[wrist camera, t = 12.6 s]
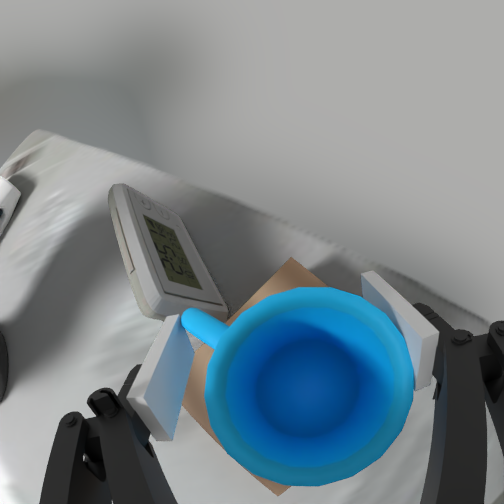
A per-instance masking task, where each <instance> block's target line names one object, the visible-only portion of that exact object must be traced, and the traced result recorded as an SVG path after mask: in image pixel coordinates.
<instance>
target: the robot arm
mask: <svg viewBox="0 0 504 504" xmlns="http://www.w3.org/2000/svg"><path fill="white" fill-rule="evenodd" d="M361 284H362V296H363V298H364V299H365V300H367V301H368V302H370V303H371V304H372V305H374V306H375V307H377V308H378V309H380V310H381V311H383V312H384V313H385V314H386V315H387V316H388V317H389V319H390V320H391V321H392V323H393V324H394V325H395V327H396V328H397V329H398V331H399V332H400V333H401V335H402V336H403V337H404V339H405V342H406V345H407V348H408V351H409V354H410V357H411V361H412V365H413V369H414V391H417V390H420V389H422V388H424V387H426V386H429V385H430V384H431V379H432V375H433V376H434V377H435V378H436V380H437V384H436V388H435V392H434V396H433V399H435V411H434V424H433V434H432V442H431V450H430V457H429V463H428V469H427V474H426V479H425V484H424V489H423V493H422V497H421V502H420V504H484V495H485V485H486V471H487V422H486V408H485V402H486V404H487V407H488V409H489V412H490V415H491V418H492V421H493V423H494V426H495V429H496V432H497V436H498V439H499V442H500V445H501V449H502V452H503V456H504V321H496V322H494V323H492V324H491V326H490V329H489V333H488V334H484V335H479V336H473V334H472V333H470V332H469V331H466V330H460V329H458V330H454V329H453V328H452V327H451V326H450V325H449V324H448V323H447V322H445V321H444V320H443V319H442V318H441V317H439V315H438V314H437V313H434V311H433V310H432V309H431V308H430V307H429V306H427V305H424V304H422V303H417V304H414V305H411V304H410V303H409V302H408V301H407V300H406V299H404V298H403V297H402V296H401V295H400V294H399V293H398V292H397V291H396V290H395V289H394V288H392V287H391V286H390V285H389V284H388V283H387V282H386V281H385V280H384V279H382V278H381V277H380V276H379V275H378V274H377V273H376V272H375V271H373V270H372V271H369V272H365V273H361ZM194 355H195V353H194V351H193V348H192V346H191V343H190V341H189V338H188V336H187V333H186V331H185V328H184V327H183V326H182V325H181V318H180V315H179V314H177V315H172V316H167V317H166V319H165V321H164V323H163V325H162V326H161V328H160V330H159V332H158V334H157V336H156V338H155V340H154V342H153V344H152V346H151V348H150V350H149V352H148V354H147V356H146V358H145V360H144V362H143V364H139V365H136V366H135V367H134V368H133V369H132V370H131V371H130V373H129V375H128V377H127V380H125V382H124V385H123V386H122V388H121V390H120V392H119V394H118V396H117V395H116V394H115V392H114V391H113V390H112V389H110V388H102V389H99V390H97V391H95V392H93V393H92V394H91V395H90V396H89V398H88V400H87V404H88V406H89V407H90V408H91V410H92V411H93V412H94V414H95V415H96V417H92V418H88V419H85V418H84V417H83V416H82V414H81V413H79V412H70V413H68V414H66V415H65V416H64V417H63V418H62V419H61V421H60V422H59V426H58V429H57V432H56V435H55V439H54V442H53V446H52V450H51V453H50V457H49V461H48V465H47V469H46V473H45V478H44V482H43V487H42V492H41V498H40V503H39V504H112V501H113V504H178V503H177V501H176V499H175V497H174V495H173V493H172V491H171V489H170V487H169V485H168V482H167V480H166V478H165V476H164V473H163V471H162V469H161V466H160V464H159V461H158V459H157V456H156V454H155V451H154V449H153V446H152V444H151V443H150V442H149V440H148V439H149V436H150V433H151V434H152V436H153V437H154V438H155V440H156V441H172V440H173V436H174V432H175V428H176V424H177V420H178V416H179V412H180V408H181V404H182V400H183V396H184V392H185V389H186V385H187V381H188V377H189V373H190V370H191V366H192V362H193V358H194ZM7 374H8V358H7V349H6V344H5V341H4V338H3V335H2V333H1V331H0V401H1V399H2V397H3V395H4V392H5V388H6V383H7ZM83 455H84V456H85V459H84V461H83Z"/></svg>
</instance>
